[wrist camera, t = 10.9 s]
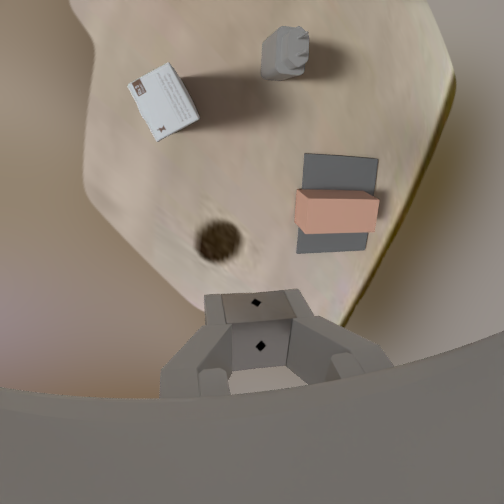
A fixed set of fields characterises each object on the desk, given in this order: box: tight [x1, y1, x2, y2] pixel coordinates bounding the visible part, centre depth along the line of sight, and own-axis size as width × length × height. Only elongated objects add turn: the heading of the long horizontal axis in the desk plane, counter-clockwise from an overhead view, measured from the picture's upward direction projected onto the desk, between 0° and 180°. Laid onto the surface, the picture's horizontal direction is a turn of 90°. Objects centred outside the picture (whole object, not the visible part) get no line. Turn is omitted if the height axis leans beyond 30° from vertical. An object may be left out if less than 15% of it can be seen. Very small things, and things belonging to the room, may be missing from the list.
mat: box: [296, 154, 378, 254], centre depth 43 cm, size 14×11×1 cm
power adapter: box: [261, 26, 309, 81], centre depth 29 cm, size 3×5×12 cm, turn 177°
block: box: [294, 189, 379, 234], centre depth 41 cm, size 4×4×10 cm
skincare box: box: [128, 62, 200, 142], centre depth 29 cm, size 6×4×12 cm
